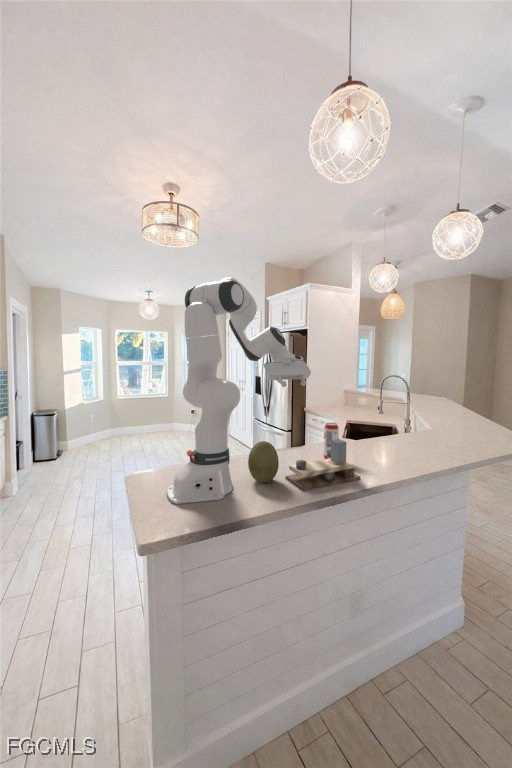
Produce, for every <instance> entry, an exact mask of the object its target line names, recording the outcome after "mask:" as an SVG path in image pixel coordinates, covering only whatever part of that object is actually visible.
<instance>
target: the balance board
mask: <svg viewBox="0 0 512 768" xmlns="http://www.w3.org/2000/svg"><path fill="white" fill-rule="evenodd" d="M351 468H354V464H353V463H351V462H349V461H347V460H346V463H340V464H336V463H334V462H333V461H331V459H325V458H324V459H321V460H320V459H319V460H313V461H308V462H307V461H306V460H303V459H299V460H296V461H295V464H289V465H288V470H289V471H291V472H293V474H297V475H298V476H300V477H301V478H302V477H308V476H313V475H319V474H324V473H330V472H335V471H341V470H346V469H351Z"/></svg>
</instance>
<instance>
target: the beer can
mask: <svg viewBox="0 0 512 768" xmlns="http://www.w3.org/2000/svg"><path fill="white" fill-rule="evenodd" d="M339 435H340V428H339V425H338V423H336V422H326V423H325V424H324V428H323V458H324V460H325V459H331V440H337V439H340V438H339Z"/></svg>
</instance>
